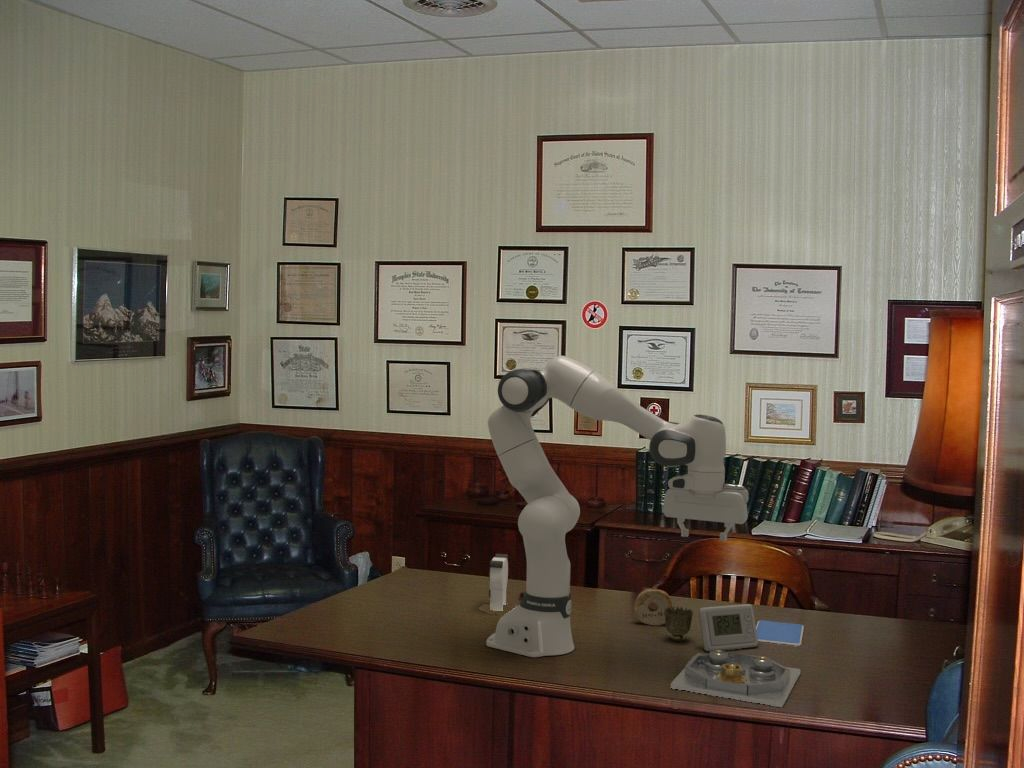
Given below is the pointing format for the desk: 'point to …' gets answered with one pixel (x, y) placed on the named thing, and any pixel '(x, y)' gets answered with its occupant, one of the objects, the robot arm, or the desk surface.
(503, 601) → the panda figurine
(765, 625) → the tablet computer
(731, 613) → the digital clock
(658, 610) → the stone disc
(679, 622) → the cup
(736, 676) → the flanged octagonal bushing
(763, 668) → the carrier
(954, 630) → the desk surface
